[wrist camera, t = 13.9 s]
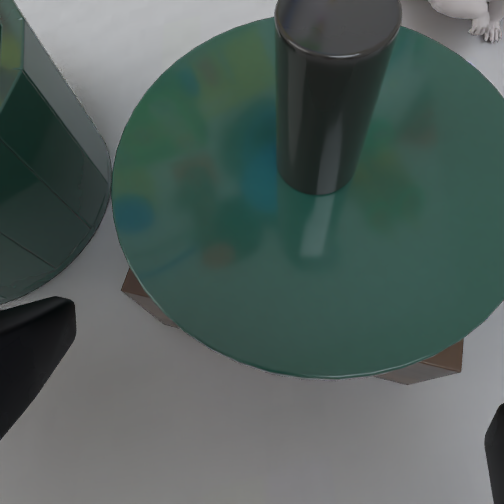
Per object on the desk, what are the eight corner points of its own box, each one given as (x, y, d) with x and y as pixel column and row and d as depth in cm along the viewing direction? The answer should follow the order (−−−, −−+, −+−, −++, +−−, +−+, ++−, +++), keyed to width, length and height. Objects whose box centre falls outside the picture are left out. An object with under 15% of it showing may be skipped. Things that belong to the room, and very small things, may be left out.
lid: (610, 233, 12) (904, 73, 6) (248, 480, 10) (209, 560, 5) (354, -7, 17) (393, -231, 11) (67, 139, 15) (-68, -37, 9)
